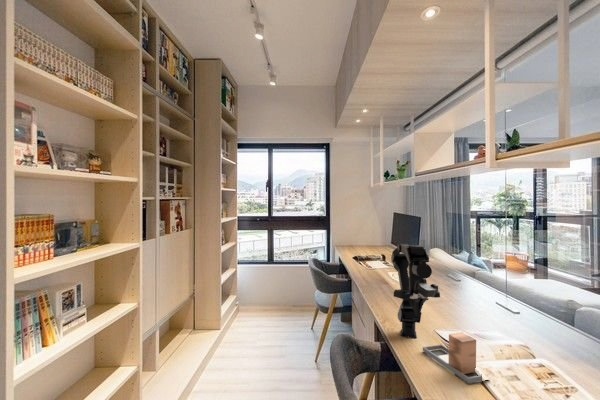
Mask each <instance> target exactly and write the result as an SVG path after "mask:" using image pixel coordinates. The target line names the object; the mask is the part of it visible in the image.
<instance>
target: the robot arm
mask: <svg viewBox="0 0 600 400" xmlns="http://www.w3.org/2000/svg"><path fill="white" fill-rule="evenodd" d="M390 261H391V263H392V265H393V269H395V270H396V272H397V275H398V276H397V277H398V282H399V287H400V289H395V290H394V291H393V297H395V298H398V299H401V300H402V301H401V303H400V306H399V309H398V311H397V319H398V321H399V322H400V323H401V329H400V336H401V337H405V338H411V339H417V331H416V323H419V324H420V323H421V320H422V319H421V318H422V308H423V306H424V303H425V302H426V301H429V299H430V298H441V293H440V291H439V285H438V284H436V283H431V284H429V283H427V279H428V278H430V277H431V276H432V272H433V270H432V267H431V266H430V265H429V264H428V263H429V262H430V257H429V254H428V252H427V249H426V248H425V246H424V245H420V244H419V245H417V244H415V245H413V244H412V245H411V244H408V243H398V244H397V247H395V248H394V250H393V251H392V252H391V260H390Z"/></svg>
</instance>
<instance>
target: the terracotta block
mask: <svg viewBox="0 0 600 400" xmlns="http://www.w3.org/2000/svg"><path fill="white" fill-rule="evenodd" d="M448 349H449V364H450V365H451V366H453V367H454V368H455V369H457V370H458V371H460V372H461V373H463V374H466V373H472V372H475V368H476V366H477V339H476V338H475V337H472V336H471V335H468V334H466V333H464V332H456V333H455V332H454V333H449V334H448Z"/></svg>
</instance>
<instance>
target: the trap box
mask: <svg viewBox="0 0 600 400" xmlns="http://www.w3.org/2000/svg"><path fill="white" fill-rule="evenodd" d="M422 353H423V354H425V356H427V357H429V358H430V359H432V361H434V362H436V364H439V365H440V366H441V367H443V368H444V369H446V370H447V371H448V372H450V373H451V374H453V375H454V376H455V377H457V378H458V379H459V380H461V381H463V382H464V383H465V384H466V385H468V386H469V385H473V384H480V383H483V382H482V381H481V380H482V374H481V375H478V376H477V375H476V373H475V372H472V373H466V374H463V373H461V372H460V371H458V370H457V369H455V368H454V367H453V366H451V365H450V364H449V347H447V346H445V345H443V344H442V343H441V344H434V345H427V346H423V347H422Z"/></svg>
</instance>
